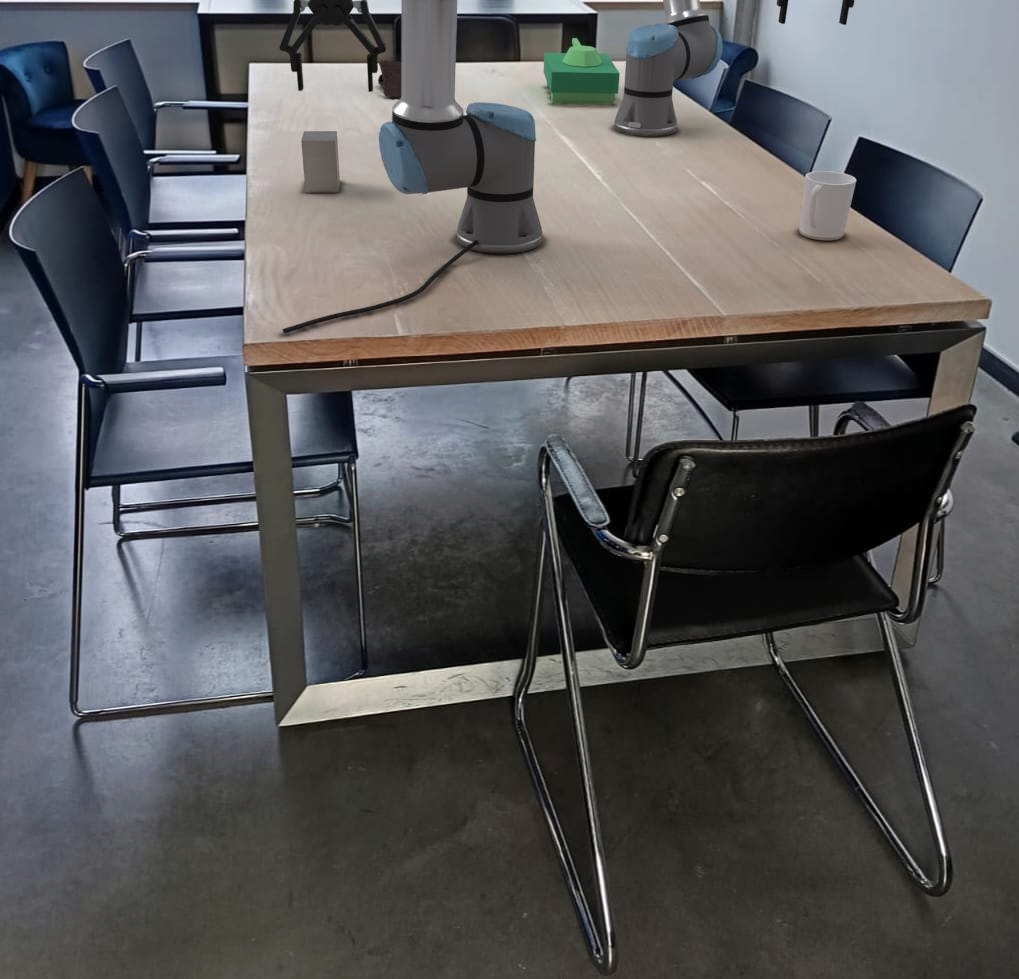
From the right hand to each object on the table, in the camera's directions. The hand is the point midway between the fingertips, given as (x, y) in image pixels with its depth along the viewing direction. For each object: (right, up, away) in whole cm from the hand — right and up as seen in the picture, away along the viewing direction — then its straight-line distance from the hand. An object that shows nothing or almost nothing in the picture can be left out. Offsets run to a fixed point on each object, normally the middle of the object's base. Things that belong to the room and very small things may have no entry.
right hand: (812, 23), depth 240 cm
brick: (-104, -41, -18) cm, 113 cm away
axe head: (-96, +7, +61) cm, 113 cm away
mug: (-9, -55, -38) cm, 68 cm away
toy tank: (-48, +8, +63) cm, 80 cm away
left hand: (-101, -24, -25) cm, 106 cm away
